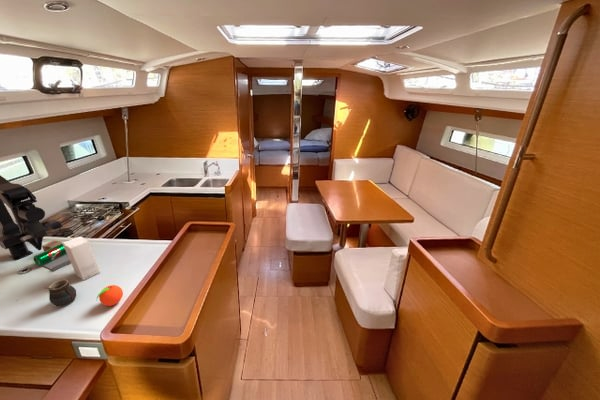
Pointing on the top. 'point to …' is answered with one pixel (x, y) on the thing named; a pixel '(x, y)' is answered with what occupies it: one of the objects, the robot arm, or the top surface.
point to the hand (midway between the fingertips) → (39, 249)
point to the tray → (58, 262)
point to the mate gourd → (61, 293)
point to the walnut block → (51, 245)
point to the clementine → (110, 295)
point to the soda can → (49, 255)
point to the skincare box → (81, 257)
